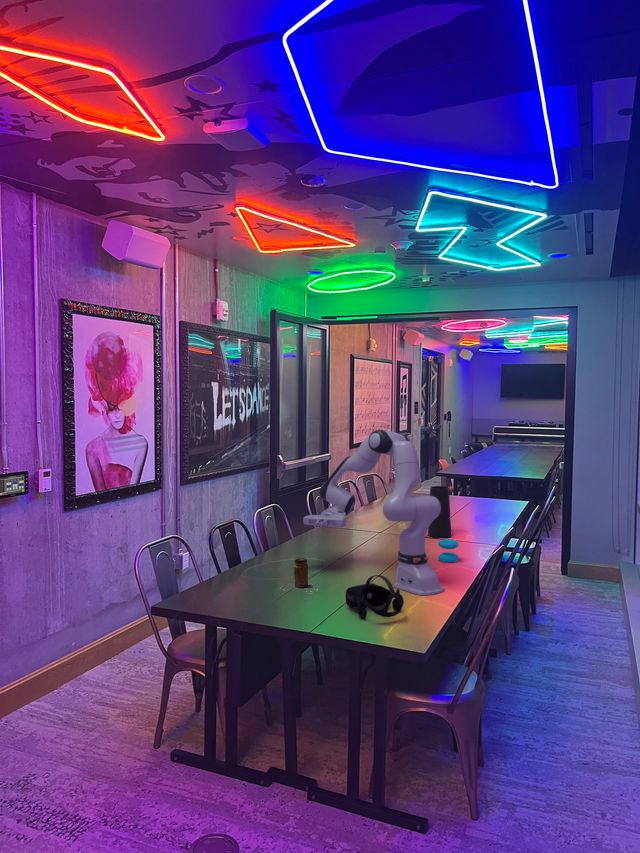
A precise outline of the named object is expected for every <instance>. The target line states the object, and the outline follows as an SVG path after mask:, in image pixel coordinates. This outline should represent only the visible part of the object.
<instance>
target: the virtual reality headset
mask: <svg viewBox="0 0 640 853" xmlns="http://www.w3.org/2000/svg"><path fill="white" fill-rule="evenodd" d="M374 577H378V578H380V579H382V580H383V581H384V583H385V584H386V585H387V587H388V589H387V588H386V587H384V586H381V585H379V584H378V585H377V584H376V583H374V582H373V583H372V582H371V581H372V579H374ZM370 582H371V583H370ZM395 590H396V592H395ZM400 590H401V589H398V588H395V587H394V586H393V584H392V582H391V581H390V579H388V578H387V577H386V576H384V575H381V574H375V575H371V576H369V577H368V578H367V580H366V582H365V584H359V585H358V584H357V585H354V586H351V587H348V588H347V589H346V590H345V604H346V605H347V607H350V608H355V609H357V612H358V616H359V618H360V619H362V620H364V619H367V616H368V614H367V612H368V611H367V608H368V609H370V611H372V612H373V613H374V614H376V615H378V616H380V617H384V618H390V617H391V618H393V617H395V616H397V615H399V613H401V611H402V609H403V606H404V603H405V600H404V596H403V595H402V594H401V592H400ZM391 605H392V609H393V610H394V611H389V609H390V607H391ZM382 606H383V607H382ZM378 607H382V608H378Z"/></svg>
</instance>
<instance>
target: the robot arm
mask: <svg viewBox="0 0 640 853" xmlns="http://www.w3.org/2000/svg"><path fill="white" fill-rule="evenodd" d="M383 455H385V456H390V457H392V459H393V468H394V481H395V482H394V483H395V484H394V488H393V490H392V492H391V494H390V496H389V497H387V498H386V499H385V501H384V503H383V505H382V512H383V515H384V517H385V518H386V520H387V521H390V522H398V523H400V522H402V523H403V522H410V523H409V526H407V527H406V528H405V529H404V530H401V532H400V533H399V538H398V539H399V540H398V542H399V544H398V546H399V551H398V555H397V558H398V559H397V560H398V565H397V567H396V576H395V578H396V579H395V583H394V584H393V585H394V586H393V588H394V589H398V590H402V591H405V592H409V593H411V594H415V595H418V596H431V595H436V594H440V593H442V592H444V591H445V587H444V586H442V585H440V584H439V583H440V582H439V576H438V574H437V572H436V571H435V570H434V569H433V568H432V566H431V565H430V564H429V562H428V560H429V556H427V553H426V536H427V533H428V527H429V526H430V524H431V523H432V522H433V520H435V519H436V518H437V517H438V516H439V514H440V511H441V505H440V502H439V500H438V499H437V498H436V497H433V496H430V495H427V494H423V495H422V494H420V495H411V490H412V489H414V488H415V487H417V486H418V485H419V484H420V482H421V480H422V477H421V469H420V461H419V456H418V453H417V450H416V447H415V444H414V443H413V442H412V441H410V438H408V437H407V436H406V435H405V434H402V433H398V432H396V431H395V432H394V431H392V430H384V429H377V430H373V431H372V432H371V433H370V434H368V435H367V436H366V437H365V438H364V440H363V441H362V442H361V444H360V445H359V447H358V448H357V450H356V452H355V453H354V454H352V456H346V457H345V458H344V459H343V460H342V461H341V462H340V463H339V465H338V466H337V467H336V468H335V469H334V471H333V472H332V473H331V475H330V476H329V477H328V478H327V480H326V481H325V482H323V483H322V485H321V486H320V488H319V490H318V493H319V497H320V499H322V500H324V501H326V502H328V503H329V504H331V505H332V506H330V507H329V508H325V509H324V510H323V511H322V512H321V513H320V514H308V515H305V516H304V517H303V518H302V519H303V522H302V523H303V525H305V526H315V527H324V528H328V529H331V528H335V527H336V528H344V527H346V526H347V516H348V515H349V514H350V513H351V512H352V511H353V509H354V507H355V505H356V498H355V495H353V494H352V493H351V492H350V491H348V490H347V489H345V488H343V487H341V486H340V485H339V484H338V481H339V480H340V479H341V477H342V476H343V475H344V473H345V472H353V473H359V474H367V473H369V472H371V471H373V469H374V468H375V467H376V465H377V463H378V461H379V460H380V458H381V457H382V456H383Z"/></svg>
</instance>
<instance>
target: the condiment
mask: <svg viewBox="0 0 640 853" xmlns="http://www.w3.org/2000/svg"><path fill="white" fill-rule="evenodd" d="M293 567H294V568H293V573H294V574H293V575H294V576H293V577H294V584H293V586H294V585H295V587H296V588H295V587H294V588H295V589H304V588H314V587H313V584H312V583H308V574H309V566H308V559H307V558H305V557H298V558H295V559H294V566H293ZM308 584H309V585H308Z"/></svg>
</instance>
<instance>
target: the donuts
mask: <svg viewBox="0 0 640 853" xmlns="http://www.w3.org/2000/svg"><path fill="white" fill-rule="evenodd" d="M437 543H438V544H437V545H438V547H440V548H441V549H443V550H455V549H457V548H458V547H459V544H460V543H459V541H457V540H455V539H450V538H447V539H439V541H438V542H437ZM437 557H438V561H440V562H442V563H447V562H448V563H449V564H451V563H452V562H453V563H456V562H458V561H459V559H460V557H459V555H458V554H457V553H455V552H451V551H450V552H449V551H445V552H441V553H439V554H438V556H437ZM453 563H452V564H453Z"/></svg>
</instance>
